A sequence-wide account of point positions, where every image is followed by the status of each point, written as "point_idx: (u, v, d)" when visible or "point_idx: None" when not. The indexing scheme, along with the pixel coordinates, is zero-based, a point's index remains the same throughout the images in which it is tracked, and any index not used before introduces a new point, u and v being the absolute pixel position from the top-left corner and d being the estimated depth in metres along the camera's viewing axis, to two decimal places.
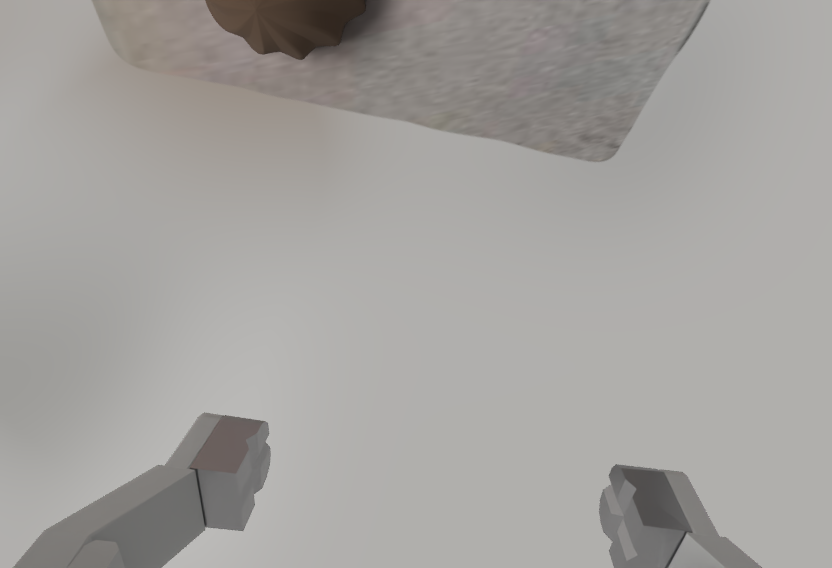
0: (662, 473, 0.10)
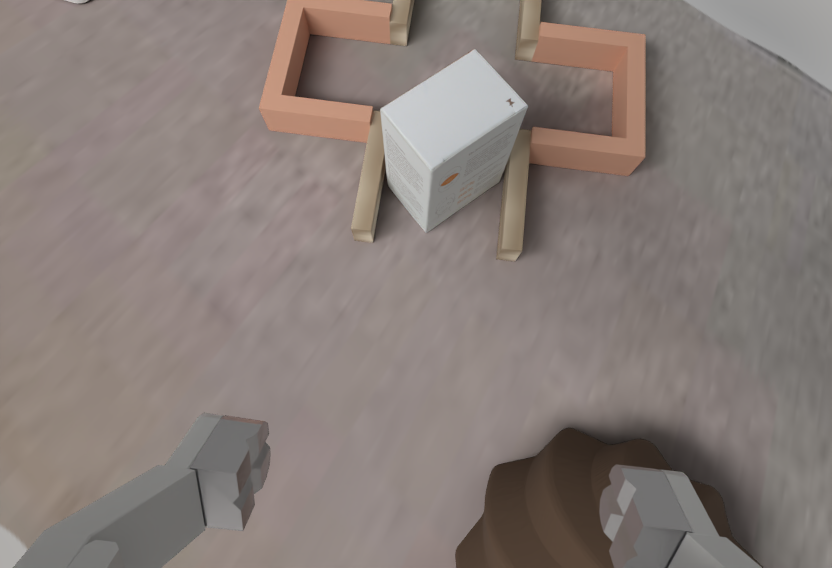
0: (661, 473, 0.10)
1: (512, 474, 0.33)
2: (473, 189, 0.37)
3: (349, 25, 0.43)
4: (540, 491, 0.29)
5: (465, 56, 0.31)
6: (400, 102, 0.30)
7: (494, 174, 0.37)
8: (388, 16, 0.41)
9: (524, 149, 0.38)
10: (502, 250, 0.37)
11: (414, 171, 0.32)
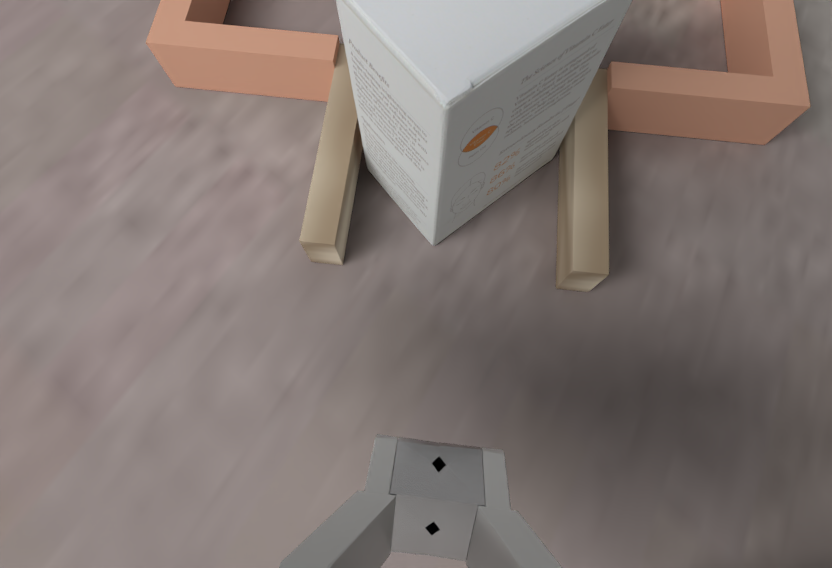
0: (479, 451, 0.11)
1: None
2: (515, 168, 0.21)
3: None
4: None
5: None
6: None
7: (550, 141, 0.21)
8: None
9: (599, 100, 0.22)
10: (571, 274, 0.20)
11: (409, 122, 0.16)
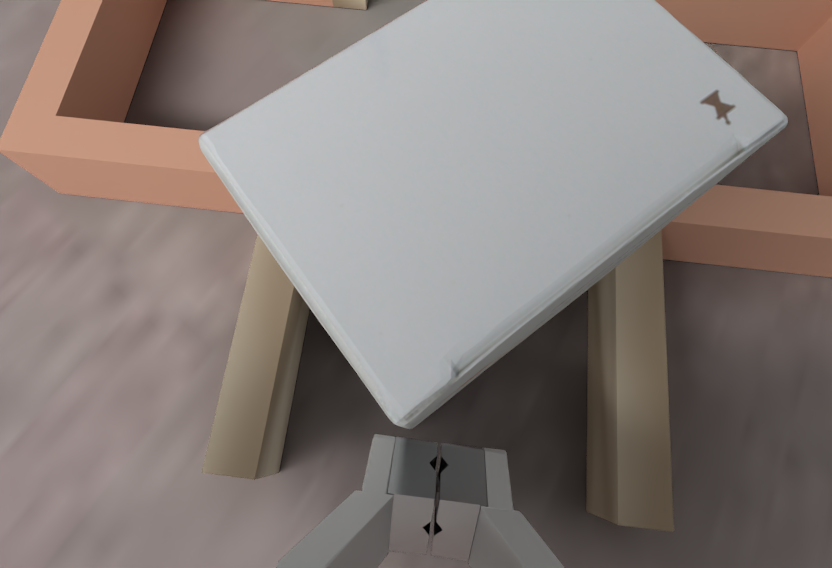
0: (481, 451, 0.11)
1: None
2: (528, 335, 0.14)
3: None
4: None
5: None
6: (277, 112, 0.07)
7: (581, 294, 0.15)
8: None
9: None
10: None
11: None
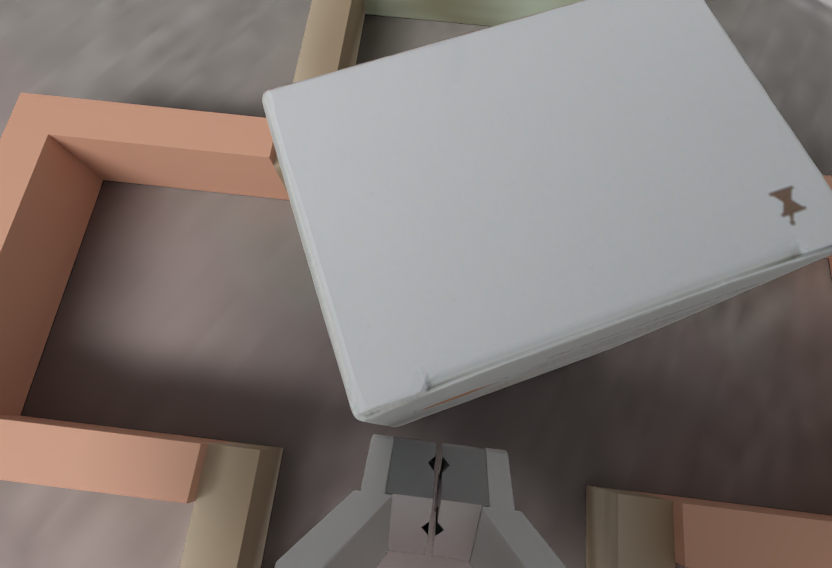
0: (482, 451, 0.11)
1: None
2: (535, 374, 0.14)
3: (182, 168, 0.17)
4: None
5: None
6: (342, 88, 0.08)
7: (601, 351, 0.14)
8: (267, 154, 0.16)
9: None
10: None
11: None
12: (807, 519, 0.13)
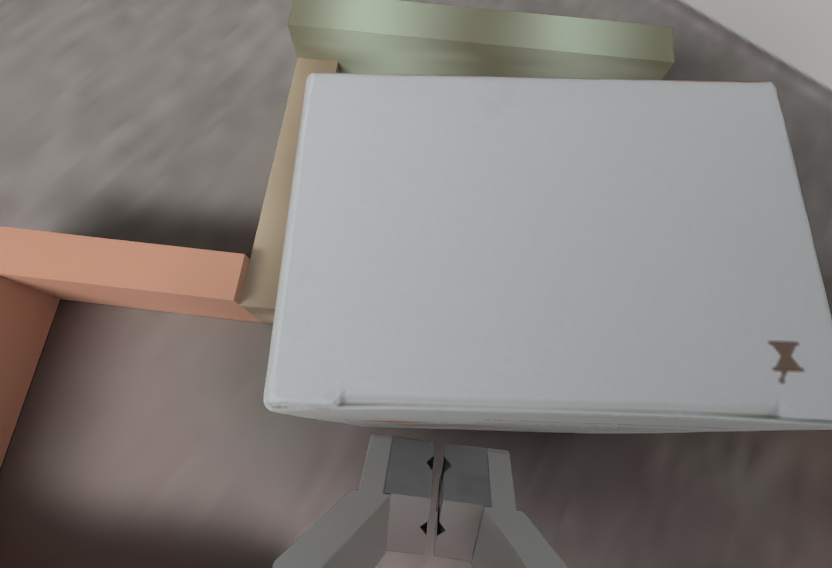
0: (484, 451, 0.11)
1: None
2: (504, 429, 0.14)
3: (141, 299, 0.16)
4: None
5: (720, 85, 0.08)
6: (381, 92, 0.08)
7: None
8: (232, 296, 0.14)
9: None
10: None
11: None
12: None
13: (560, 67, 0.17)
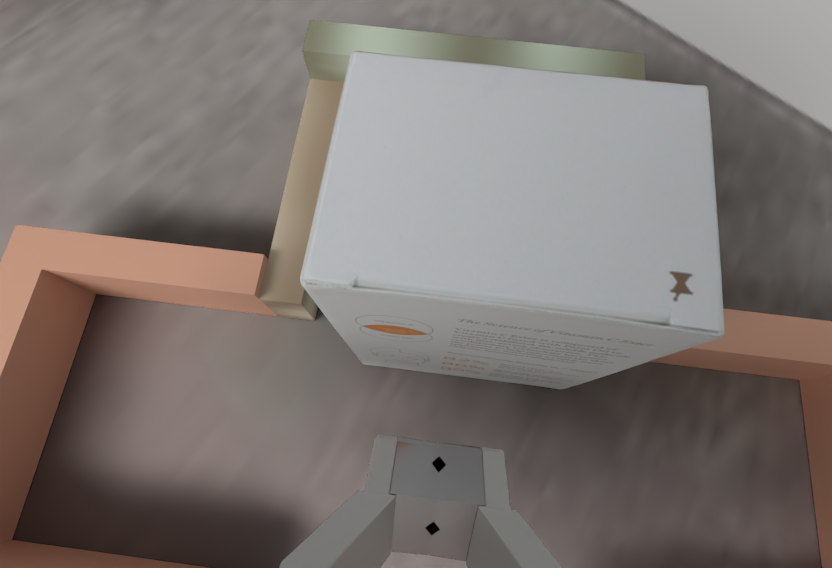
0: (479, 451, 0.11)
1: None
2: (486, 370, 0.16)
3: (171, 294, 0.18)
4: None
5: (665, 85, 0.10)
6: (405, 69, 0.10)
7: (549, 379, 0.16)
8: (253, 291, 0.16)
9: None
10: None
11: None
12: None
13: None
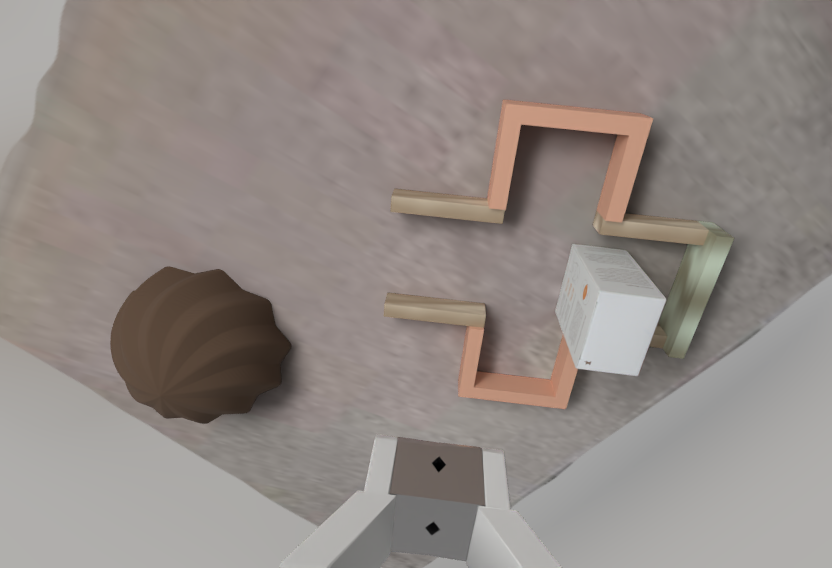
0: (479, 450, 0.11)
1: (261, 315, 0.53)
2: (566, 295, 0.47)
3: (611, 177, 0.43)
4: (243, 338, 0.50)
5: (639, 367, 0.41)
6: (656, 312, 0.39)
7: (561, 313, 0.48)
8: (606, 220, 0.43)
9: (466, 322, 0.50)
10: (385, 302, 0.50)
11: (611, 279, 0.40)
12: None
13: (677, 323, 0.47)
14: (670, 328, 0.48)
